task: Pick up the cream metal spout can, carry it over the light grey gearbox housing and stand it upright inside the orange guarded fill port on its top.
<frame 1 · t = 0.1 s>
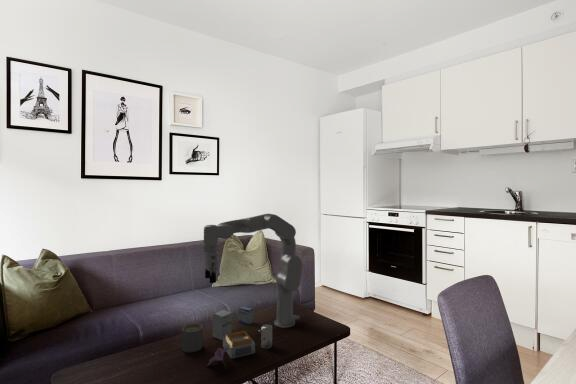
hand: (210, 280, 175), 31 cm above the table, tool pointing down, fingers open, 9 cm apart
supplement box: (222, 336, 178), on the table
lily: (219, 366, 149), on the table
medicine box: (245, 322, 197), on the table
gearbox: (238, 349, 164), on the table
coffee mug: (191, 346, 167), on the table
spout can: (266, 346, 167), on the table
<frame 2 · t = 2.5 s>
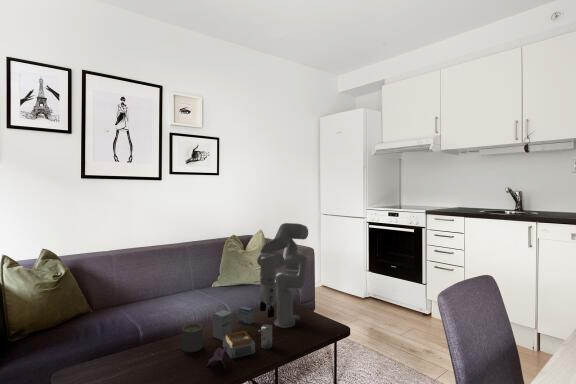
hand: (266, 314, 167), 17 cm above the table, tool pointing down, fingers open, 9 cm apart
nothing on the table moved.
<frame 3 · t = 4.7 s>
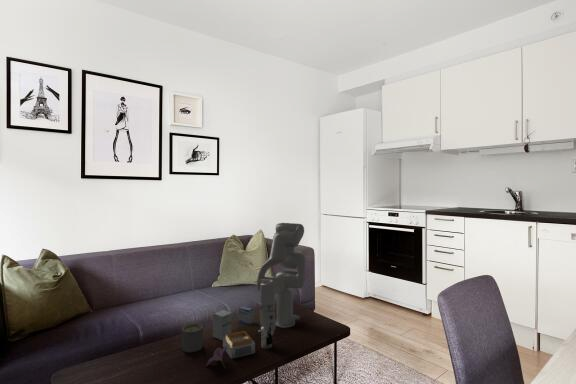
hand: (266, 341, 167), 2 cm above the table, tool pointing down, fingers closed on spout can, 5 cm apart
spout can: (266, 346, 167), on the table, touching gripper
everything else where it was.
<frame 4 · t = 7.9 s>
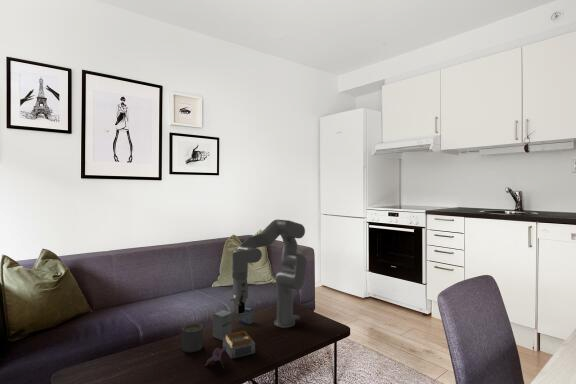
hand: (239, 310, 163), 20 cm above the table, tool pointing down, fingers closed on spout can, 5 cm apart
spout can: (239, 315, 163), point 17 cm above the table, touching gripper
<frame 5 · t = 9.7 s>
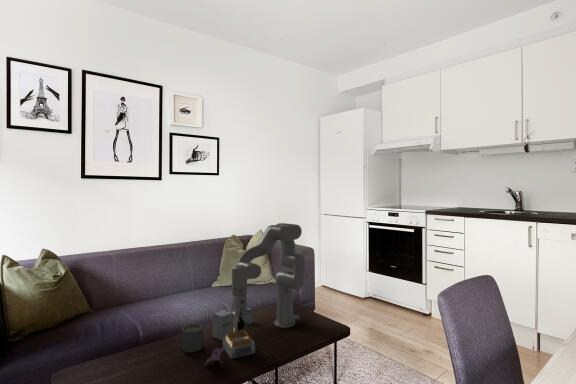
hand: (238, 326, 163), 11 cm above the table, tool pointing down, fingers closed on spout can, 5 cm apart
spout can: (238, 331, 163), point 9 cm above the table, touching gripper
when the fingers open (8 cm above the table, at t = 11.3 s): spout can stays where it is, resting on gearbox.
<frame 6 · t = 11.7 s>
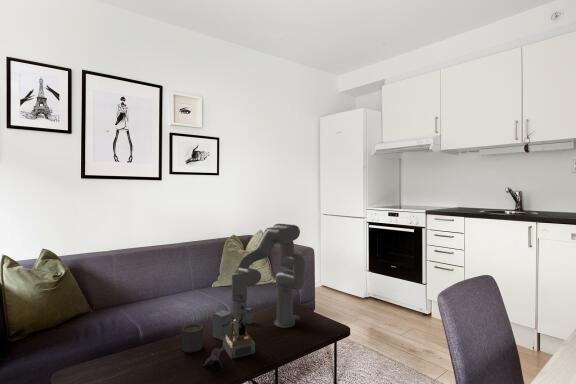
hand: (238, 331, 164), 9 cm above the table, tool pointing down, fingers open, 9 cm apart
spout can: (238, 339, 164), point 5 cm above the table, touching gearbox
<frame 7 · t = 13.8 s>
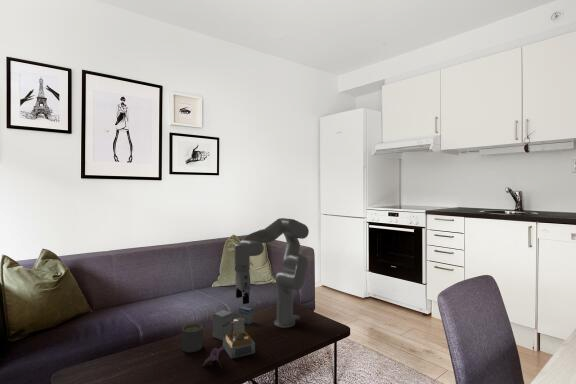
hand: (242, 300, 168), 23 cm above the table, tool pointing down, fingers open, 9 cm apart
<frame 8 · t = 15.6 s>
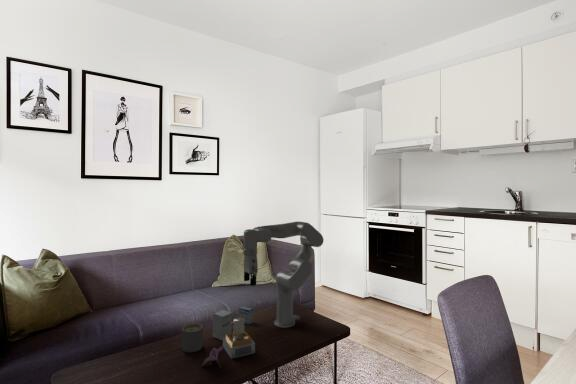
hand: (249, 283, 181), 28 cm above the table, tool pointing down, fingers open, 9 cm apart
at the end: spout can 0.1 cm off-centre on the gearbox, point 5.0 cm above the gearbox's base; spout can tilted 0°; the gripper is holding nothing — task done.
